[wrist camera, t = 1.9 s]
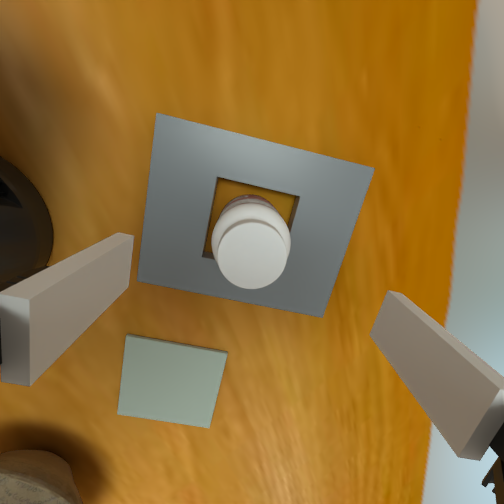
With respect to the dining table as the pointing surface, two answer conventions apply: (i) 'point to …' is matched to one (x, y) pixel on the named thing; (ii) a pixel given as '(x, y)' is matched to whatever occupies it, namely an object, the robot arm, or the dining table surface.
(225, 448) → the dining table surface
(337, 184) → the socket block
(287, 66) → the dining table surface
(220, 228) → the pill bottle
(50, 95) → the dining table surface
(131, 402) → the mat
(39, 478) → the bowl
